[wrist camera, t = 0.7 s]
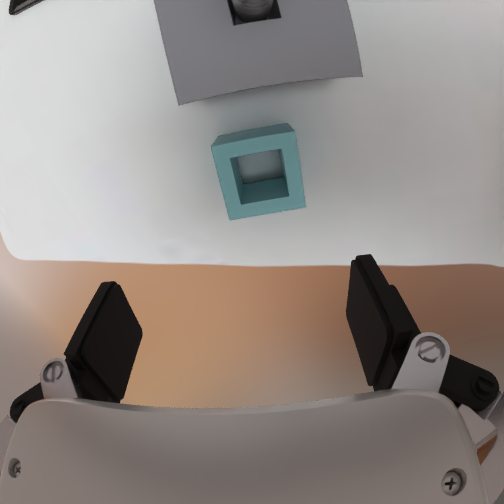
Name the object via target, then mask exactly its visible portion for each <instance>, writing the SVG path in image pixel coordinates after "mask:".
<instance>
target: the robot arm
mask: <svg viewBox="0 0 504 504" xmlns="http://www.w3.org/2000/svg"><path fill="white" fill-rule="evenodd" d="M346 316H347V320H348V323H349V326H350V329H351V332H352V335H353V338H354V341H355V344H356V348H357V351H358V354H359V357H360V360H361V363H362V366H363V370H364V373H365V376H366V380H367V383H368V385H369V386H373V388H374V392H368V393H361V394H355V395H350V396H343V397H337V398H331V399H324V400H316V401H309V402H301V403H292V404H284V405H283V404H282V405H271V406H258V407H239V408H172V407H171V408H170V407H153V406H139V405H128V404H120V400H121V399H123V398H124V395H125V391H126V388H127V384H128V381H129V377H130V374H131V370H132V367H133V364H134V361H135V358H136V354H137V351H138V348H139V345H140V341H141V339H142V328H141V327H140V325H139V323H138V321H137V319H136V317H135V315H134V313H133V311H132V309H131V307H130V305H129V303H128V301H127V298H126V297H125V294H124V292H123V290H122V288H121V286H120V285H118V284H117V283H116V282H114V281H111V282H103V283H101V285H100V286H99V288H98V290H97V292H96V293H95V295H94V297H93V299H92V300H91V302H90V304H89V306H88V308H87V309H86V311H85V313H84V315H83V317H82V319H81V321H80V323H79V324H78V326H77V328H76V330H75V332H74V334H73V336H72V338H71V340H70V342H69V344H68V346H67V348H66V350H65V352H64V355H65V356H66V359H65V360H63V359H62V358H54V359H52V360H50V361H48V362H47V363H46V364H45V365H44V366H43V368H42V370H41V373H40V381H41V382H40V383H39V384H37V385H35V386H34V387H33V388H31V389H29V390H28V391H26V392H25V393H23V394H22V395H20V396H19V397H17V398H16V399H15V400H14V401H13V403H12V405H11V408H10V416H11V417H9V416H8V415H7V416H6V417H5V419H4V420H3V421H2V422H1V423H0V504H493V503H494V502H495V500H496V499H497V498H498V496H499V495H500V493H501V492H502V491H503V489H504V392H503V393H502V392H501V391H499V384H498V381H497V379H496V377H495V376H494V375H493V374H492V373H490V372H489V371H487V370H484V369H482V368H480V367H478V366H475V365H473V364H470V363H468V362H466V361H464V360H461V359H459V358H457V357H454V356H452V355H450V354H449V353H450V349H449V346H448V344H447V342H446V340H445V339H443V338H442V337H441V336H439V335H437V334H435V333H430V332H428V333H422V334H421V332H420V331H419V329H418V327H417V325H416V323H415V321H414V319H413V317H412V315H411V314H410V312H409V310H408V308H407V306H406V305H405V303H404V301H403V299H402V297H401V296H400V294H399V292H398V290H397V289H396V287H395V286H394V285H389V284H388V282H387V280H386V279H385V277H384V275H383V273H382V272H381V270H380V268H379V267H378V265H377V263H376V262H375V260H374V258H373V257H372V255H371V254H367V255H359V256H356V259H355V260H352V261H351V270H350V280H349V290H348V299H347V308H346ZM472 440H473V441H474V442H475V444H476V446H477V453H476V450H475V447H474V444H473V441H472Z"/></svg>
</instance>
